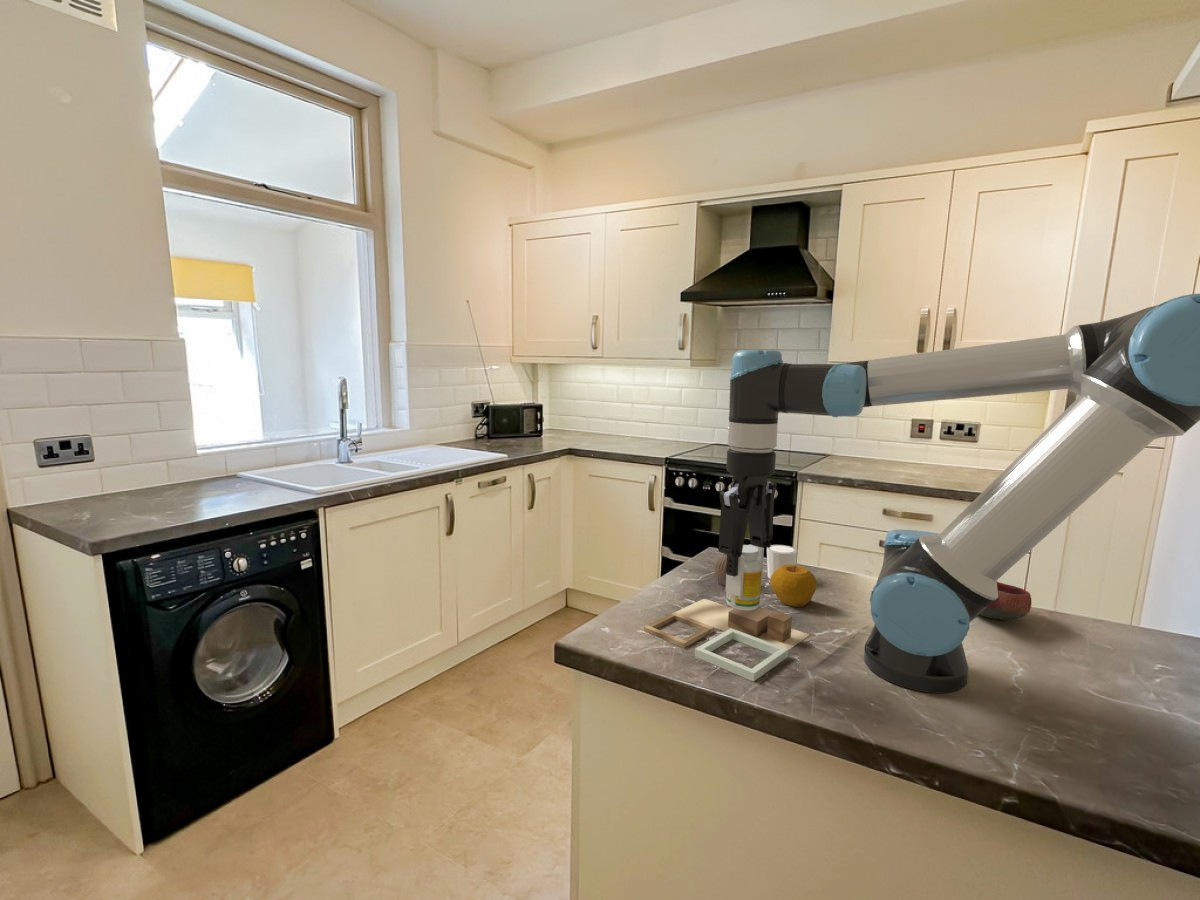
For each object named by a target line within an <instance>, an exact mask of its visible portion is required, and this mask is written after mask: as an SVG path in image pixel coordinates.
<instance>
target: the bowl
mask: <svg viewBox="0 0 1200 900" xmlns="http://www.w3.org/2000/svg"><path fill="white" fill-rule="evenodd" d="M997 590H998V598H997V599H996V600H995V601H993V602H992V603H991V604H990V605H989V606H988V607H987V608H986V609H984V610H983V611H982V612H981V613H980V614H979V615H980V616H982V617H985V618H986V617H987V618H990V619H995V620H1003V621H1004V620H1005V621H1012V620H1019V619H1021V618H1023V617H1025V616H1026V615H1027V614H1029V612H1030V611H1031V609H1032V598H1031V597H1032V595H1031V593H1030V592H1029V591H1027V590H1026V589H1025V588H1024V589H1023V588H1021V587H1018V586H1014V585H1011V584H1006V583H1003V582H999V581H997ZM979 615H978V616H979Z"/></svg>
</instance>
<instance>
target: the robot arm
mask: <svg viewBox="0 0 1200 900" xmlns="http://www.w3.org/2000/svg"><path fill="white" fill-rule="evenodd" d="M1059 390H1060V391H1062V390H1070V391H1071V392H1072V393H1074V394H1075V395H1077V396H1078V397H1077V398H1076V399H1075V400H1074V401H1073V402H1072V403H1071V404H1070V405H1069V406H1068V407H1067V408H1066V409H1065V410H1064V411H1063V412H1062V413H1061V414H1060V415H1059V416H1058V417H1057V418H1056V419H1055V420H1054V421H1053V422H1052V423H1051V424H1050V425H1049V426H1048V427H1047V428H1046V429H1044V430H1043V432H1042V433H1041V434H1040V435H1038V436H1037V437H1036V439H1034V440H1033V441H1032V442H1031V444H1029V446H1027V448H1025V449H1024V450H1023V451H1022V452H1021V454H1019V455H1018V457H1016V458H1015V460H1013V461H1012V462H1011V463H1010V464H1009V466H1007V467H1006V468H1005V469H1004V470H1003V471H1002V472H1001V473H1000V474H999V475H998V477H996V478H995V479H994V480H993V481H992V482H991V483H990V484H989V485H988V486H987V487H986V488H984V490H983V491H981V493H980V494H978V496H977V497H976V498H975V499H974V500H973V501H972V502H971V503H970V504H969V505H967V507H966V508H965V509H964V510H963V511H962V512H961V513H960V514H958V516H957V517H956V518H955V519H954V520H952V521H951V523H950V524H948V526H947V527H946V528H945V529H944V530H943V531H942V532H940V533H937V532H931V531H924V530H923V531H922V530H914V529H892V530H890V531H887V533H886V535H885V540H884V542H883V548H884V552H883V561H882V567H881V570H880V572H879V575H878V578H877V580H876V583H875V585H874V586H873V589H872V591H871V593H870V598H869V599H870V600H869V601H870V613H871V618H872V621H873V624H874V625H873V628H872V629H871V632H870V634H869V636H868V638H867V640H866V642H865V643H864V644H865V645H864V652H863V661H864V663H865V665H866V666H867V667H868V669H869V670H870V671H872V672H873V673H874V674H875V675H876V676H878V677H880V678H882V679H884V680H886V681H888V682H890V683H892V684H895V685H897V686H900V687H904V688H907V689H911V690H915V691H920V692H925V693H931V694H932V693H934V694H944V693H945V694H946V693H953V692H958V691H960V690H962V689H964V688H965V687H966V686H967V684H968V679H969V664H968V660H967V657H966V653H965V649H964V644H963V642H964V640H965V639H966V637H967V635H968V632H969V630H970V626H971V625H970V623H971V622H972V621H973V620H975V619H976V617H978V616H979V614H980V613H981V612H982V611H983V610H984V609H986V608H987V607H988V606H989V605H990V604H991V603H992V602H993V601H995V600H996V599H997V598H998V590H997V582H998V580H999V579H1000V578H1001V577H1003V576H1004V574H1006V573H1007V572H1008V571H1009V570H1010V569H1011V568H1012V567H1013V566H1015V565H1016V564H1017V563H1018V562H1019V561H1020V560H1022V559H1023V558H1024V556H1026V555H1027V554H1028V553H1029V552H1030V551H1031V550H1032V549H1034V548H1035V547H1036V546H1037V545H1038V544H1039V543H1041V542H1042V540H1044V539H1045V538H1046V537H1047V536H1048V535H1049V534H1050V533H1052V532H1053V531H1054V530H1055V529H1056V528H1057V527H1058V526H1059V525H1060V524H1062V522H1064V521H1065V520H1066V519H1067V518H1069V516H1070V515H1072V514H1073V513H1074V512H1075V511H1076V510H1077V509H1079V507H1080V506H1082V504H1084V503H1085V502H1086V501H1087V500H1089V498H1091V497H1092V496H1093V495H1094V494H1095V493H1096V492H1097V491H1098V490H1099V489H1101V487H1103V486H1104V485H1105V484H1106V483H1107V482H1109V481H1110V480H1111V479H1112V478H1113V477H1114V476H1115V475H1117V473H1119V472H1120V471H1121V470H1122V469H1123V468H1124V467H1126V465H1128V464H1129V462H1131V461H1132V460H1133V459H1135V457H1137V455H1138V454H1140V453H1141V452H1142V451H1143V450H1145V448H1146V447H1147V446H1149V445H1150V444H1151V443H1152V442H1153V441H1154V440H1158V439H1160V438H1168V437H1169V438H1171V437H1180V436H1183V435H1184V434H1186V433H1187V432H1188V431H1189V430H1191V428H1193V427H1194V426H1195V425H1196V424H1198V422H1200V293H1192V294H1185V295H1181V296H1177V297H1173V298H1171V299H1169V300H1167V301H1164V302H1162V303H1160V304H1157V305H1153V306H1149V307H1146V308H1143V309H1140V310H1138V311H1135V312H1132V313H1128V314H1125V315H1122V316H1119V317H1114V318H1111V319H1107V320H1103V321H1099V322H1091V323H1087V324H1078V325H1073V326H1072V327H1071V328H1070V329H1069V330H1068V331H1067V332H1066V333H1063V334H1060V335H1058V334H1057V335H1051V336H1043V337H1034V338H1029V339H1020V340H1013V341H1012V340H1011V341H1005V342H997V343H989V344H981V345H975V346H966V347H957V348H951V349H944V350H934V351H927V352H920V353H913V354H905V355H899V356H898V355H897V356H891V357H883V358H875V359H874V358H873V359H869V360H859V361H852V362H850V361H849V362H843V363H789V362H788V363H787V362H784V361H783V355H782V352H781V351H780V350H775V349H774V350H773V349H766V350H765V349H763V350H761V349H740V350H737V351H736V352H735V353H734V354H733V356H732V360H731V371H730V377H729V406H728V407H729V411H728V415H729V416H728V427H727V431H728V432H727V433H728V435H727V445H728V447H731V448H729V449H728V450H726V467H725V468H726V471H727V472H728V473H730V474H731V475H732V480H731V483H730V489H729V490H727V491H724V490H721V492H720V493H719V500H720V501H719V502H720V517H719V519H720V520H719V532H718V534H719V535H718V546H717V547H718V548H717V549H718V550H717V551H718V553H721V554H723V553H724V554H726V555H727V566H726V586H725V593H726V594H727V593H730V594H733V595H736V596H739V597H740V596H742V595H743V578H744V560H745V556H742V555H741V554H742V549H743V545H745V544H744V543H745V540H746V534H747V527H748V531H749V541H750V544H748V545H749V546H754V547H756V548H758V549H759V557H758V559H757V560H758V561H759V562H760V563H761V565H762V576H761V587H762V586H763V574H764V573H763V572H764V570H763V569H764V556H765V555H764V554H765V552H764V551H765V548H767V547H768V548H769V547H770V546H771V545H772V542H770V541H772V540H773V531H774V530H773V529H774V508H775V507H774V506H775V495H776V490H777V483H776V482H772V481H768V477H769V476H772V475H774V474H775V472H776V459H777V454H776V452H775V451H774V450H775V449H776V447H777V445H778V422H779V413H782V414H799V415H814V416H815V415H816V416H829V417H833V418H839V417H858V416H860V415H861V413H862V412H863V410H864V408H869V407H879V406H880V407H881V406H888V405H892V406H893V405H901V404H915V403H923V402H925V403H926V402H933V401H934V402H935V401H936V402H937V401H947V400H956V399H969V398H970V399H971V398H979V397H981V398H982V397H991V396H992V397H993V396H1001V395H1015V394H1023V393H1024V394H1027V393H1035V392H1048V391H1050V392H1051V391H1059ZM773 449H774V450H773Z"/></svg>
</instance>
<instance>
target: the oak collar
mask: <svg viewBox="0 0 1200 900" xmlns="http://www.w3.org/2000/svg"><path fill="white" fill-rule="evenodd" d="M675 612H676V611H675ZM675 612H672V613H670V614H668V615H665V616H663V617H661V618H660V619H657V620H655V621H653V622H651V623H649V624H647V625H644V626H643V632H644V633H647V634H649V635H651V636H655V637H657V638H659V639H661V640H664V641H666V642H667V643H668V642H669V643H671V644H672V645H676V646H678V647H680V648H682V649H685V648H686V647H688V646H690V645H692V644H694V643H696V642H698V641H700V640H702V639H703V638H705V637H706V636H708V635H710V634H712V633H713V632H714V629H715V628H714V627H712V626H709V625H706V624H704V623H701V622H698V621H696V620H693V619H690V618H688V617H685V616H682V615H680V614H677V613H675ZM674 621H677V622H680V623H683V624H685V625H688V626H691V627H693V628H696V629H698V631H695V633H693V634H690V635H689V636H686V637H685V638H683V639H682V638H680V637H677V636H674V635H673V634H670V633H668V632H665V631H662V630H660V629H659V628H660V627H661V628H662V627H663V626H666V625H668V624H669V623H672V622H674Z"/></svg>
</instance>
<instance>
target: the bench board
mask: <svg viewBox="0 0 1200 900" xmlns="http://www.w3.org/2000/svg"><path fill="white" fill-rule="evenodd" d="M733 609H734V608H732V607H731V606H729V605H725V604H721V603H718V602H716V601H712V600H710V599H707V598H702V599H700V600H698V601H696V602H694V603H692V604H690V605H687V606H686V607H683V608H681V609H679V610H677V611H675V613H677V614H680V615H682V616H685V617H688V618H690V619H693V620H696V621H698V622H701V623H704V624H706V625H709V626H712V627H714V629H716V630H719V631H722V632H723V633H724V632H725V631H727V630H729V629H731V628H729V627H728V614H729V611H731V610H733ZM773 612H774V613H772V614H771V615H769V616H768V629H767V632H765V633H764V634H762V635H760V636H759V637H757V638H759V639H761V640H764V641H767V642H769V643H772V644H775V645H777V646H780V647H783V648H786V649H788V651H790V650H791V649H793V648H794V647H795V646H797V645H798V644H799V643H801V642H803V641H804V640H805V639H807V638H808V637H809V636H811V634H808V633H806V632H803V631H802V630H797V629H794V628H792V621H793V616H792V615H789V614H787V613H783V612H781V611H773ZM734 630H735V629H734ZM737 631H738V630H737ZM742 633H743V632H742ZM745 634H746V633H745ZM750 636H751V635H750ZM753 637H754V636H753Z"/></svg>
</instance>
